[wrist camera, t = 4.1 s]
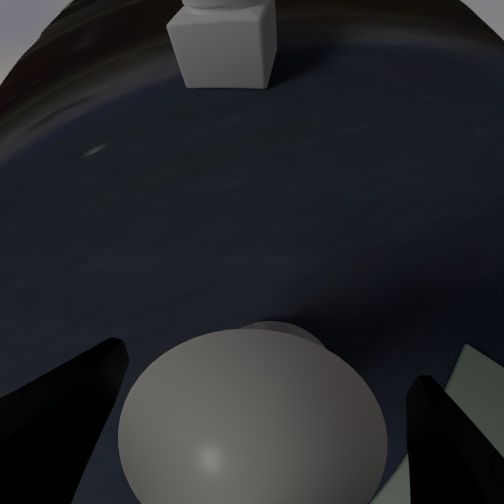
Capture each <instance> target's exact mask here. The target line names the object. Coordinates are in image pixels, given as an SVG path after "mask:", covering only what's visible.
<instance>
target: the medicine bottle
mask: <svg viewBox="0 0 504 504" xmlns="http://www.w3.org/2000/svg"><path fill="white" fill-rule="evenodd" d="M182 3H183V4H184V5H185V6H184V7H183V8H182V9H181V10H180V11H179V12H178V13H177V14H176V15H175V16H174V17H173V18H172V19H171V21H170V22H169V23H168V24H167V30H168V33H169V36H170V39H171V42H172V45H173V48H174V51H175V54H176V57H177V60H178V63H179V66H180V69H181V72H182V75H183V78H184V81H185V84H186V87H187V88H248V89H266V88H267V86H268V82H269V78H270V74H271V70H272V67H273V63H274V59H275V55H276V51H277V32H276V14H275V0H182Z"/></svg>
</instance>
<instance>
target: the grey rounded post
mask: <svg viewBox="0 0 504 504" xmlns="http://www.w3.org/2000/svg"><path fill="white" fill-rule="evenodd" d="M288 326H289V325H283V324H274V323H267V326H266V330H261V329H234V330H225V331H219V332H214V333H209V334H206V335H203V336H199V337H196V338H193V339H191V340H188V341H186V342H184V343H182V344H180V345H177V346H176V347H174V348H172V349H171V350H169V351H168V352H166V353H164V354H163V355H162V356H160V357H159V358H158V359H157V360H156V361H154V362H153V363H152V364H151V365H150V366H149V367H148V368H147V369H146V370H145V371H144V372H143V373H142V374H141V375H140V377H139V378H138V380H137V381H136V383H135V384H134V386H133V387H132V388H131V390H130V392H129V394H128V397H127V399H126V401H125V403H124V406H123V410H122V413H121V416H120V422H119V429H118V447H119V454H120V460H121V463H122V467H123V470H124V474H125V476H126V478H127V480H128V483H129V485H130V487H131V489H132V490H133V492H134V494H135V495H136V497H137V498H138V500H139V501H140V502H141V504H368V503H369V501H370V500H371V498H372V497H373V495H374V493H375V491H376V489H377V487H378V485H379V483H380V480H381V478H382V475H383V472H384V468H385V463H386V457H387V433H386V426H385V421H384V418H383V415H382V412H381V408H380V406H379V404H378V402H377V400H376V398H375V396H374V394H373V393H372V391H371V390H370V388H369V387H368V385H367V384H366V383H365V381H364V380H363V379H362V378H361V377H360V376H359V374H358V373H357V372H356V371H355V370H354V369H353V368H352V367H351V366H349V365H348V364H347V363H346V362H344V361H343V360H342V359H341V358H339V357H338V356H337V355H335V354H333V353H332V352H330V351H328V350H327V349H325V348H324V347H322V346H320V345H317V344H315V343H313V342H311V341H308V340H306V339H304V338H300V337H297V336H294V335H290V334H288Z"/></svg>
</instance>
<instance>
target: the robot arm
mask: <svg viewBox="0 0 504 504" xmlns="http://www.w3.org/2000/svg"><path fill="white" fill-rule="evenodd" d="M128 364H129V356H128V353H127V350H126V347H125V344H124V342H123V341H122V340H121V339H117V338H113V337H111V338H109V339H107V340H105V341H103V342H101V343H100V344H98V345H96V346H94V347H92V348H91V349H89V350H87V351H85V352H84V353H82V354H80V355H78V356H76V357H75V358H73V359H71V360H69V361H67V362H66V363H64V364H62V365H60V366H58V367H57V368H55V369H53V370H51V371H50V372H48V373H46V374H44V375H42V376H41V377H39V378H37V379H35V380H33V381H32V382H30V383H28V384H26V386H25V385H24V386H22V387H21V388H19V389H17V390H15V391H13V392H11V393H9V394H7V395H6V396H3V397H1V398H0V504H71V502H72V500H73V497H74V494H75V492H76V489H77V487H78V485H79V482H80V480H81V477H82V475H83V472H84V470H85V468H86V465H87V463H88V461H89V458H90V456H91V454H92V452H93V449H94V447H95V445H96V443H97V440H98V438H99V436H100V434H101V432H102V429H103V427H104V425H105V423H106V421H107V419H108V416H109V414H110V412H111V410H112V408H113V406H114V403H115V401H116V398H117V396H118V393H119V390H120V387H121V384H122V381H123V378H124V376H125V373H126V370H127V367H128ZM406 408H407V450H408V462H409V478H410V504H504V457H503V456H502V455H501V454H500V453H499V451H498V450H497V449H496V448H494V446H493V444H492V443H491V442H490V441H489V440H488V439H487V437H486V436H485V435H484V434H483V433H482V432H481V431H480V429H479V428H478V427H477V426H476V425H475V424H474V423H473V422H472V420H471V419H470V418H469V417H468V416H467V415H466V414H465V413H464V411H463V410H462V409H461V408H460V407H459V406H458V405H457V404H456V403H455V401H454V400H453V399H452V398H451V397H450V396H449V395H448V394H447V393H446V392H445V391H444V390H443V388H442V387H441V386H440V385H439V384H438V383H437V382H436V381H435V380H434V379H433V378H432V377H431V376H429V375H420V376H418V377H417V378H416V379H415V381H414V382H413V384H412V386H411V388H410V389H409V391H408V393H407V397H406Z"/></svg>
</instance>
